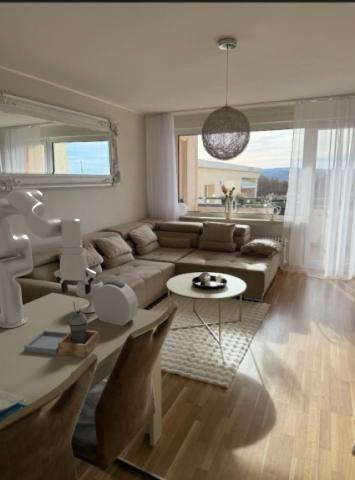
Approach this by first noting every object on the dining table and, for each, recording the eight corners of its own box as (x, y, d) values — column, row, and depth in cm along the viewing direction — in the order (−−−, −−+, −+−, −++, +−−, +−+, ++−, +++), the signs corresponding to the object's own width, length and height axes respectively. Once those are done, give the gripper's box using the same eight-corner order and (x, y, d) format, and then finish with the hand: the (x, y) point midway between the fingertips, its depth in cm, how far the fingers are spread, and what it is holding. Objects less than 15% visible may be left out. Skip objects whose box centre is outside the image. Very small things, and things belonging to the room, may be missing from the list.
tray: (24, 351, 135) (24, 346, 134) (44, 335, 148) (43, 330, 148) (56, 354, 132) (55, 349, 132) (73, 337, 146) (73, 332, 145)
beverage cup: (83, 353, 132) (80, 306, 128) (67, 352, 134) (63, 305, 130) (92, 344, 139) (89, 299, 135) (76, 343, 141) (72, 298, 137)
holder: (58, 354, 132) (57, 343, 131) (73, 340, 143) (72, 329, 142) (87, 357, 130) (86, 345, 129) (99, 342, 141) (99, 331, 140)
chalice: (72, 312, 172) (69, 284, 169) (88, 302, 185) (86, 276, 182) (95, 315, 168) (93, 287, 165) (109, 305, 181) (108, 279, 178)
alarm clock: (138, 320, 161) (137, 281, 158) (130, 327, 155) (128, 286, 151) (103, 313, 170) (101, 276, 166) (93, 319, 164) (91, 280, 160)
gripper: (47, 252, 126) (51, 295, 130) (89, 253, 123) (93, 297, 126) (57, 248, 134) (61, 288, 137) (98, 248, 130) (101, 290, 134)
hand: (76, 292), depth 132 cm, fingers open, 9 cm apart
